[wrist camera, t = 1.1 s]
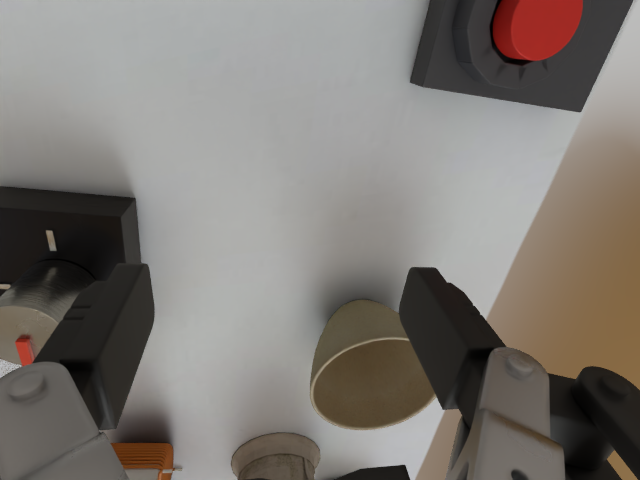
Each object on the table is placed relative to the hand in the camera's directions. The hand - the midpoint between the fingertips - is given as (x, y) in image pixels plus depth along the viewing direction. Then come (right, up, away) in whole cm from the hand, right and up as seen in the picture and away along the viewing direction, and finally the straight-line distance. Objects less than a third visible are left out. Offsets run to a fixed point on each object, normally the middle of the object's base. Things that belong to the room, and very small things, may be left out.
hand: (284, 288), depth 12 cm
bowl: (+4, -6, +22) cm, 23 cm away
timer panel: (-16, 0, +15) cm, 22 cm away
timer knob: (-16, -2, +12) cm, 20 cm away
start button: (+12, +13, +8) cm, 19 cm away
